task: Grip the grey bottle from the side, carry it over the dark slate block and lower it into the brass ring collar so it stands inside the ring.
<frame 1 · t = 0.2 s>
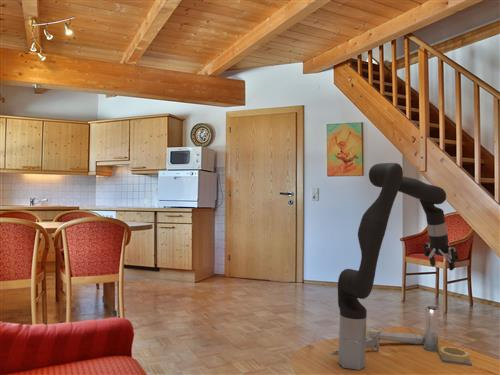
hand: (442, 267, 178), 30 cm above the table, tool tilted 20°, fingers open, 8 cm apart
ring block: (454, 358, 154), on the table
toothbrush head: (393, 345, 167), on the table
caliper: (355, 353, 157), on the table
grey bottle: (430, 349, 163), on the table
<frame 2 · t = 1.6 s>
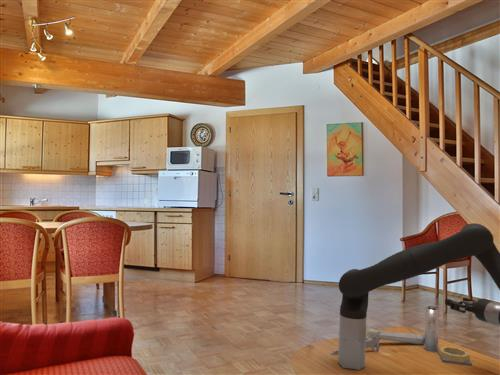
hand: (454, 300, 153), 22 cm above the table, tool horizontal, fingers open, 8 cm apart
nothing on the table moved.
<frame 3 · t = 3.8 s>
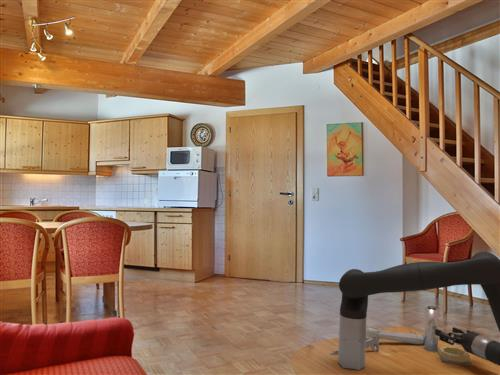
hand: (444, 330, 157), 9 cm above the table, tool horizontal, fingers open, 8 cm apart
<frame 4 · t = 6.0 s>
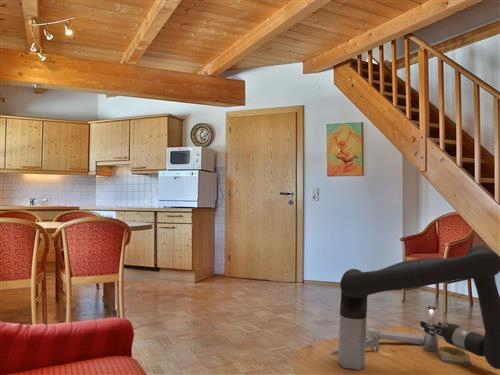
hand: (426, 323, 166), 9 cm above the table, tool horizontal, fingers closed on grey bottle, 5 cm apart
grey bottle: (430, 349, 163), on the table, touching gripper
everything else where it was.
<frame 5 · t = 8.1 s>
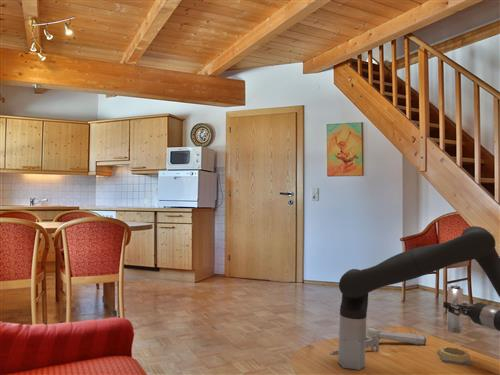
hand: (449, 304, 157), 20 cm above the table, tool horizontal, fingers closed on grey bottle, 5 cm apart
grey bottle: (454, 331, 154), point 10 cm above the table, touching gripper
everything else where it was.
when the fingers open (11 cm above the table, at t = 10.6 s): grey bottle stays where it is, resting on ring block.
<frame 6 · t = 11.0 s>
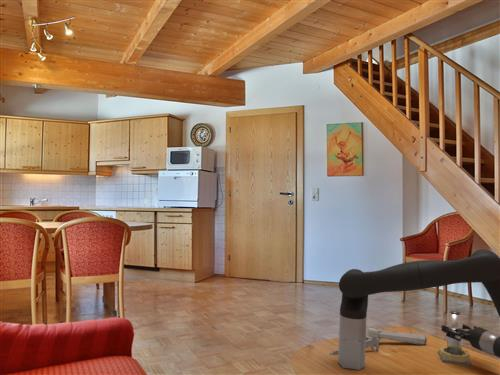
hand: (450, 327, 156), 11 cm above the table, tool horizontal, fingers open, 8 cm apart
grey bottle: (454, 356, 154), point 1 cm above the table, touching ring block
everything else where it was.
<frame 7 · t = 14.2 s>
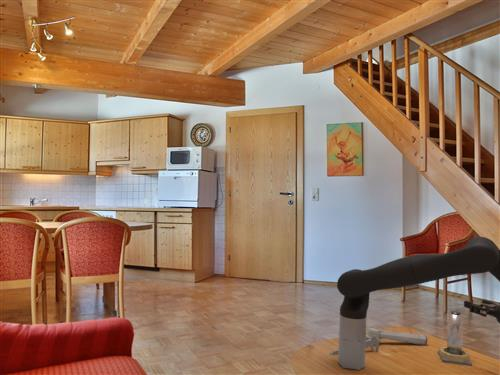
hand: (473, 303, 146), 23 cm above the table, tool horizontal, fingers open, 8 cm apart
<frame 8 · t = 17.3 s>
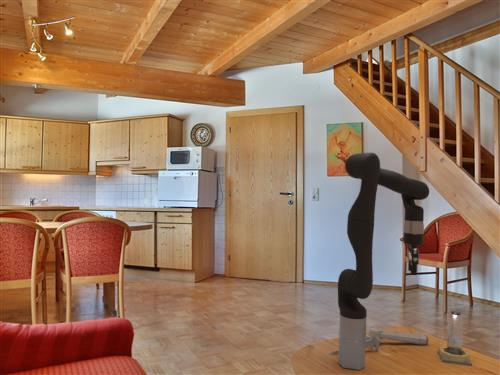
hand: (412, 272, 163), 30 cm above the table, tool pointing down, fingers open, 8 cm apart
at the end: grey bottle 0.1 cm off-centre on the ring block, point 0.8 cm above the ring block's base; grey bottle tilted 0°; the gripper is holding nothing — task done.
